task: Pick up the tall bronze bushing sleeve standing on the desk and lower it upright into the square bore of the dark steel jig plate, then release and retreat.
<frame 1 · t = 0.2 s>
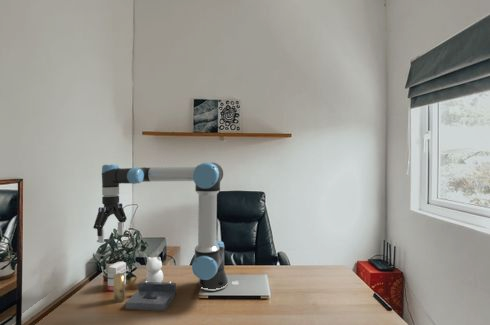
hand: (111, 238, 133), 28 cm above the table, fingers open, 13 cm apart
ink box: (117, 287, 141), on the table
jig: (152, 301, 125), on the table
sleeve: (119, 300, 127), on the table
cat figurine: (155, 283, 145), on the table
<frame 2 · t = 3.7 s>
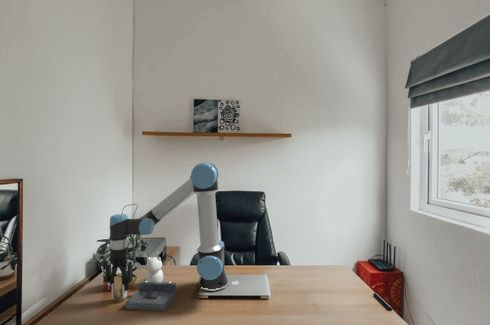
hand: (119, 296, 127), 2 cm above the table, fingers closed on sleeve, 5 cm apart
sleeve: (119, 300, 127), on the table, touching gripper
everything else where it was.
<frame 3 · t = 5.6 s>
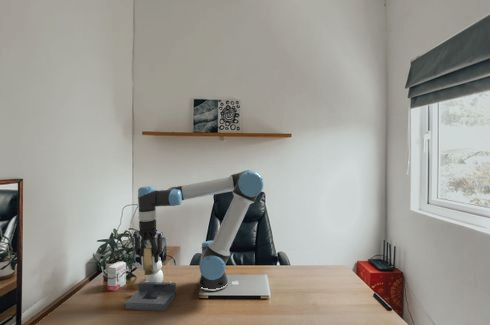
hand: (149, 269, 125), 15 cm above the table, fingers closed on sleeve, 5 cm apart
sleeve: (149, 273, 125), point 13 cm above the table, touching gripper
everything else where it was.
when the fingers open (3 cm above the table, at t = 8.0 s): sleeve stays where it is, resting in jig.
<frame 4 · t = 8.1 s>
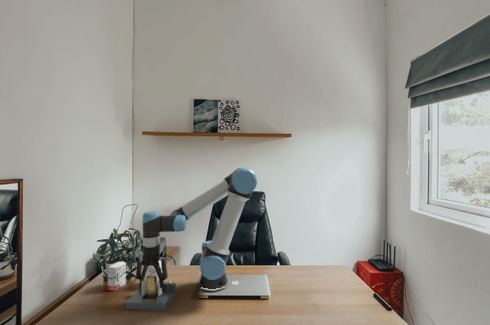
hand: (151, 294, 125), 4 cm above the table, fingers open, 7 cm apart
sleeve: (152, 301, 125), resting in jig
everything else where it was.
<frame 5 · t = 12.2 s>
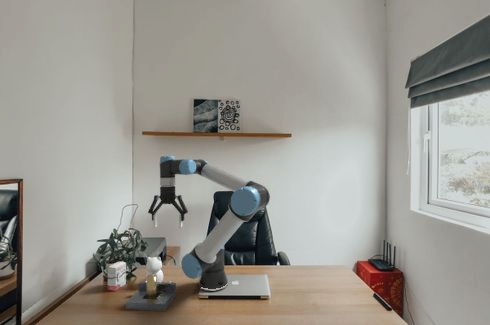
hand: (168, 227, 138), 32 cm above the table, fingers open, 13 cm apart
nothing on the table moved.
at the end: sleeve 0.0 cm off-centre on the jig, point 0.0 cm above the jig's base; sleeve tilted 0°; the gripper is holding nothing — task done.
